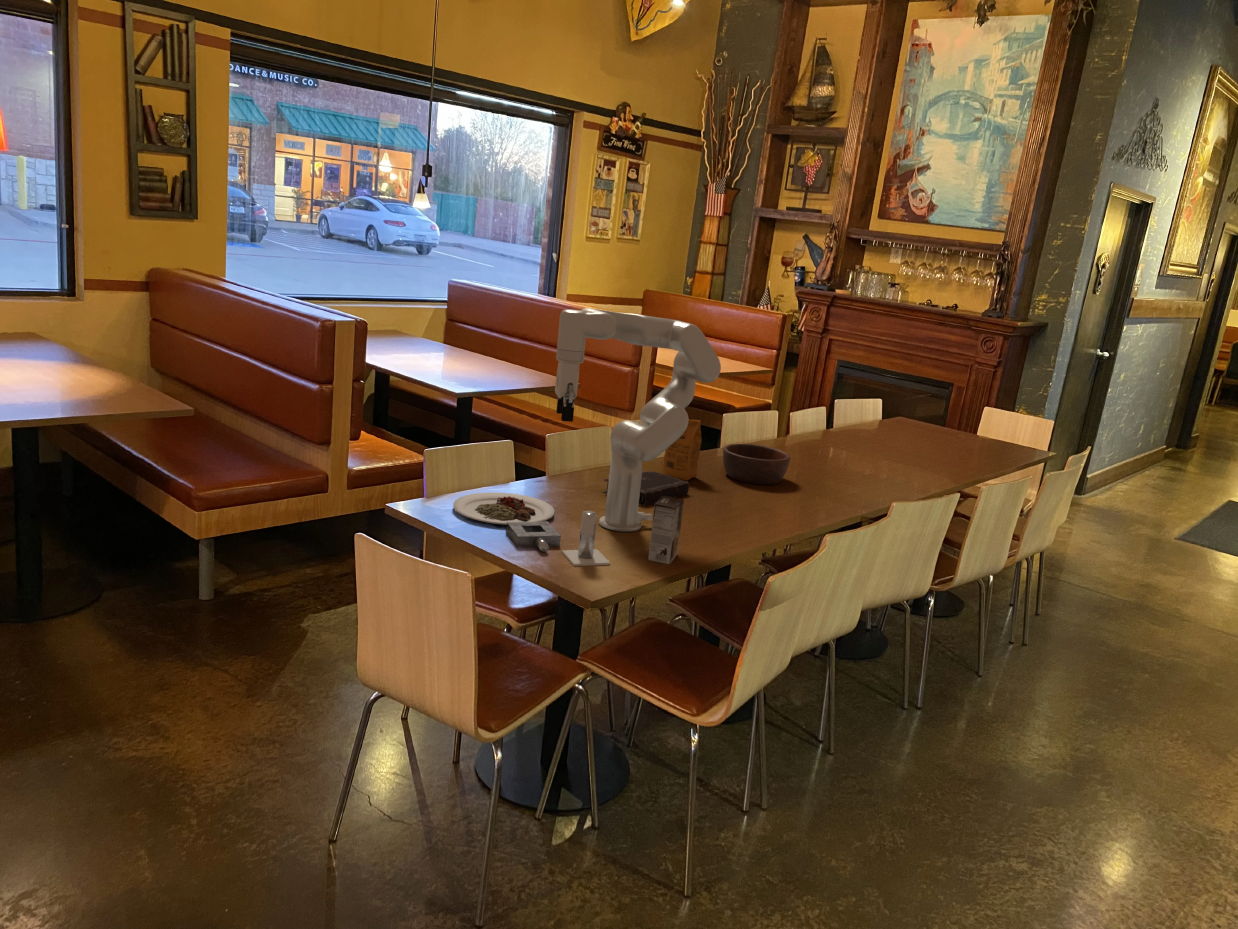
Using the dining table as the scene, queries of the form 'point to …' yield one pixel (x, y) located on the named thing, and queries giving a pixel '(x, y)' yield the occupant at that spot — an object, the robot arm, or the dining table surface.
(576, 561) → the pad
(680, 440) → the coffee package
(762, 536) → the dining table surface
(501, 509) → the plated food
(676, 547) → the coffee box
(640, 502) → the diary
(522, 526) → the chuck block
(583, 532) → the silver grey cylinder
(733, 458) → the wooden bowl
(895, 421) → the dining table surface
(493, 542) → the dining table surface
